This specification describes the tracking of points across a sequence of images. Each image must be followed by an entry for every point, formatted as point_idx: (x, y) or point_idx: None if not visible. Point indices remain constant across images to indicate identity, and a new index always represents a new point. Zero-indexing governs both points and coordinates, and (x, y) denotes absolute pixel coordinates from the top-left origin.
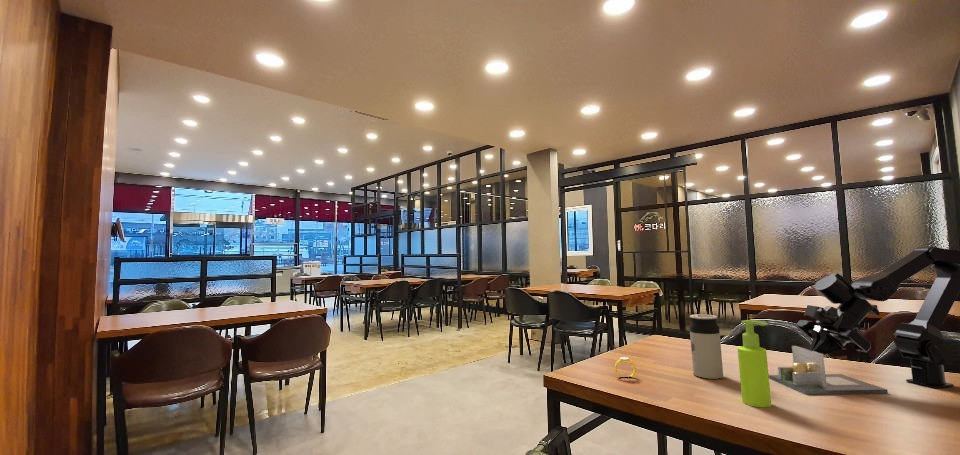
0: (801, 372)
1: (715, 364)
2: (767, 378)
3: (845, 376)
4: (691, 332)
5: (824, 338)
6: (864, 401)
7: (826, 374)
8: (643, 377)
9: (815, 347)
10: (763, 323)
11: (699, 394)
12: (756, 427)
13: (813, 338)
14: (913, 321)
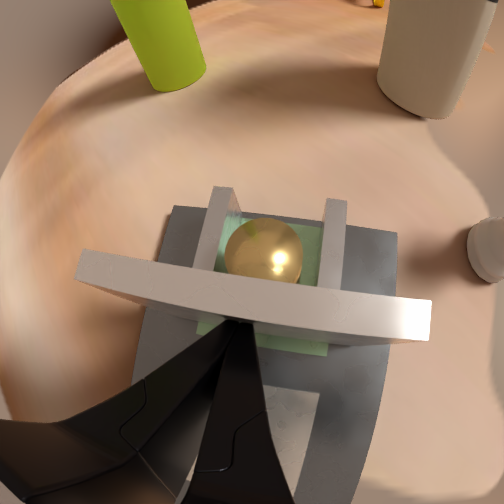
0: (218, 229)
1: (385, 49)
2: (128, 38)
3: None
4: None
5: (44, 431)
6: (83, 335)
7: (350, 495)
8: (382, 15)
9: (186, 373)
10: None
11: (261, 26)
12: (113, 53)
13: (268, 490)
14: None
